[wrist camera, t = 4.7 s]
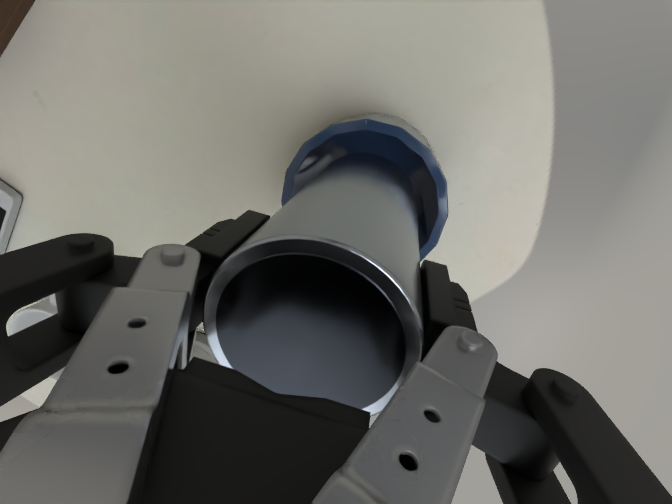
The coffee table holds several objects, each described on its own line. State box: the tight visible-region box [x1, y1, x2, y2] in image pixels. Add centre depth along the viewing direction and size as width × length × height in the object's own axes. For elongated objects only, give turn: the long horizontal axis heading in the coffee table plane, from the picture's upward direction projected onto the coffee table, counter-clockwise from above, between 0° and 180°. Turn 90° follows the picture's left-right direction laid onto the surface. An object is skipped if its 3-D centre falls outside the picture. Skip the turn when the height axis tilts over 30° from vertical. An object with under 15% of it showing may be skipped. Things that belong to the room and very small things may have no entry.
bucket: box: [281, 113, 448, 262], centre depth 21 cm, size 9×9×6 cm
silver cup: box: [203, 153, 424, 417], centre depth 13 cm, size 5×5×11 cm
